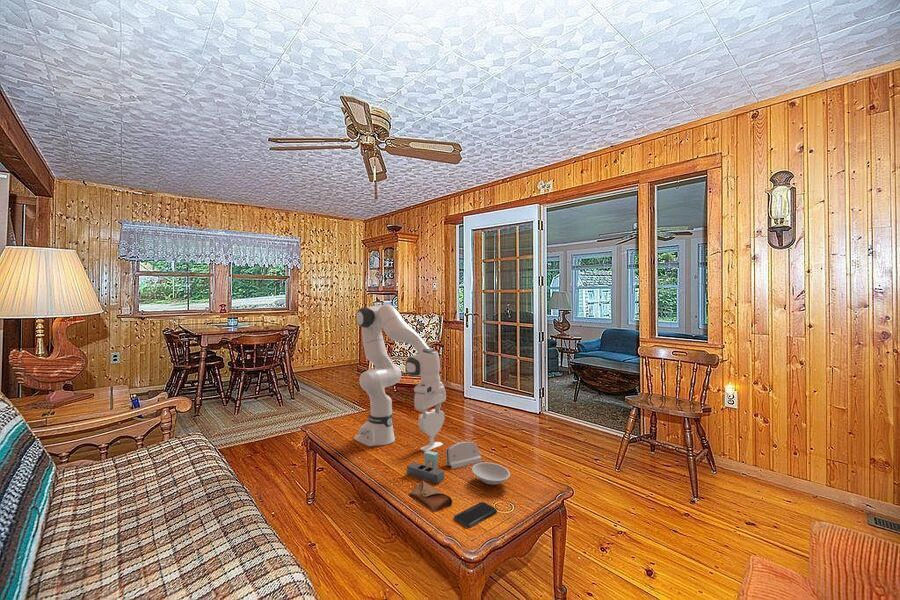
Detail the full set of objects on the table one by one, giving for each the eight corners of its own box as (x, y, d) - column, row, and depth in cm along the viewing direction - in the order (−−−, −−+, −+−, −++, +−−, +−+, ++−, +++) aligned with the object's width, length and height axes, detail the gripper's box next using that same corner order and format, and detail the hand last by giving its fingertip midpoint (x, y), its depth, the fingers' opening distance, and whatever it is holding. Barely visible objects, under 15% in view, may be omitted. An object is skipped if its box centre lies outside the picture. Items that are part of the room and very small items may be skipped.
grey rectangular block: (407, 474, 171) (407, 466, 171) (413, 470, 175) (413, 462, 175) (437, 483, 162) (437, 475, 162) (444, 479, 166) (444, 470, 166)
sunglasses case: (405, 493, 155) (412, 476, 157) (418, 497, 159) (424, 480, 161) (435, 513, 141) (442, 493, 143) (447, 516, 145) (454, 497, 147)
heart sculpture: (438, 440, 210) (438, 406, 209) (445, 443, 206) (445, 408, 206) (417, 449, 198) (417, 413, 198) (424, 452, 195) (424, 415, 195)
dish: (518, 487, 160) (518, 474, 160) (490, 497, 152) (490, 484, 152) (491, 470, 175) (491, 459, 174) (464, 479, 167) (464, 467, 167)
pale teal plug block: (424, 465, 180) (424, 452, 180) (427, 463, 182) (427, 450, 182) (434, 468, 177) (434, 455, 176) (438, 466, 179) (438, 453, 179)
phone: (498, 509, 142) (468, 526, 132) (498, 513, 142) (468, 529, 132) (482, 501, 148) (452, 516, 138) (482, 504, 148) (452, 519, 138)
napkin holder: (451, 469, 176) (447, 445, 179) (446, 468, 180) (443, 445, 183) (482, 461, 184) (478, 438, 187) (477, 461, 188) (473, 439, 191)
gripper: (437, 380, 190) (438, 409, 190) (411, 389, 173) (412, 420, 173) (448, 381, 187) (449, 410, 187) (423, 390, 170) (424, 422, 170)
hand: (431, 415), depth 180 cm, fingers open, 8 cm apart
